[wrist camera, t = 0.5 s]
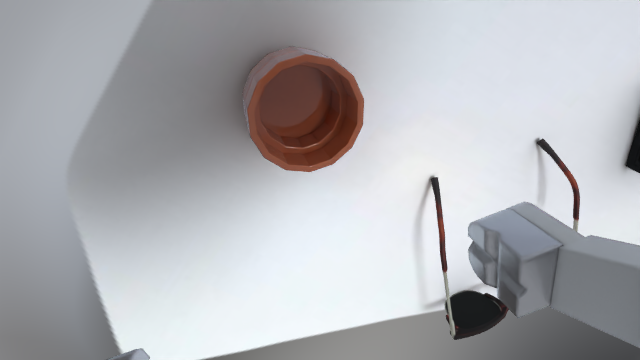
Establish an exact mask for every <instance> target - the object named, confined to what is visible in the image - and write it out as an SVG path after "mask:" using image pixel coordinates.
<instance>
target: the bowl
mask: <svg viewBox="0 0 640 360" xmlns="http://www.w3.org/2000/svg"><path fill="white" fill-rule="evenodd" d="M242 96H243V105H244V113H245V119H246V122H247V126H248V130H249V134H250V137H251V139H252V140H253V142H254V143H255V145H256V146H257V148H258V149H259V151H260V152H261V154H262V155H263V157H264V158H265V159H267V160H269V161H271V162H272V163H274V164H276V165H278V166H279V167H281V168H283V169H285V170H291V171H304V172H312V171H315V170H317V169H320V168H323V167H326V166H329V165H332V164H334V163H335V162H336V161H337V160H338V159H340V158H341V157H342V156H343V155H344V154H345V153H346V152H347V151H349V150H350V149H351V148H352V146H353V144H354V142H355V140H356V138H357V136H358V134H359V132H360V130H361V128H362V126H363V111H364V98H363V96H362V94H361V91H360V89H359V87H358V84H357V82H356V80H355V77H354V76H353V75H352V74H351V73H350V72H349V71H347V70H346V69H345V68H344V67H342V66H341V65H340V64H339V63H337V62H336V61H335V60H334V59H332V58H329V57H327V56H325V55H323V54H321V53H319V52H316V51H314V50H309V49H304V48H299V47H294V46H293V47H288V48H284V49H281V50H278V51H274V52H271V53H269V54H267V55H266V56H265V57H264V58H263V59H262V60H261V61H260V62H259V63H258V64H257V65H256V66H255V67H254V68H253V69H252V70H251V71H250V73H249V76H248V79H247V82H246V85H245V87H244V90H243V94H242Z"/></svg>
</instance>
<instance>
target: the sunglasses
mask: <svg viewBox="0 0 640 360" xmlns="http://www.w3.org/2000/svg"><path fill="white" fill-rule="evenodd" d="M537 144H538V145H539V146H540V147H541V148H542V149H543V150H544V151H546V152H547V153H548V154H549V155H550V156H551V157H552V158H553V160H554V161H555V162H556V163H557V165H558V166H559V167H560V169H561V170H562V171H563V172H564V174H565V175H566V177H567V178H568V180H569V181H570V183H571V186H572V189H573V194H574V208H573V218H574V225H573V230H574V231H576V232H577V230H578V220H579V206H580V195H579V189H578V185H577V182H576V180H575V179H574V177H573V175H572V174H571V172H570V171H569V170H568V168H567V167H566V166H565V164H564V163H563V162H562V161H561V159H560V158H559V157H558V156H557V154H556V153H555V152H554V150H553V149H552V148H551V147H550V145H549V144H548V143H547V142H546V141H545V140H544V139H542V140H540V141H539V142H537ZM431 182H432V187H433V191H434V195H435V201H436V210H437V219H438V228H439V238H440V255H441V263H442V270H443V275H444V282H445V289H446V297H447V300H446V301H445V310H446V312H447V315H446V319H447V321H448V323H449V325H450V329H451V331H450V334H451V336H452V338H453V339H454V340H457V339H462V338H466V337H470V336H474V335H476V334H480V333H482V332H484V331H487V330H488V329H490V328H492V327H493V326H495V325H496V324H497V323H499V322H500V321H501V320H502V319H503V318H504V317H505V316H506V313H507V311H508V310H509V309H508V308H507V306H506V305H505V304H504V303H503V302H502V301H501V300H499V299H497V298H496V297H494V296H492V295H490V294H488V293H485V294H482V293H480V292H477V291H473V290H465V291H461V292H458V293H456V294H454V295H452V296H451V297H449V289H448V280H447V273H446V271H447V261H446V251H445V232H444V224H443V215H442V206H441V198H440V189H439V182H438V178H437V177H434V178H432V179H431Z"/></svg>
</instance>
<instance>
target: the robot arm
mask: <svg viewBox="0 0 640 360" xmlns="http://www.w3.org/2000/svg"><path fill="white" fill-rule="evenodd" d="M468 236H469V237H470V238H471V239H472V240H473V242H472V244H471V245H470V247H469V249H468V251H469V260H470V263H471V265H472V268H473V270H474V271H475V273H476V274H477V276H478V277H479V278H480V279H481V280H482V282H483V283H484V284H486V285H489V286H492V287H495V288H497V297H498V298H499V299H500V300H501V301H502V302H503V303H504V304H505V305H506V306H507V308H508V309H509V310H510V311H511V312H512V313H513V314H514V315H515V316H516V317H517V318H519V317H522V316H525V315H527V314H530V313H532V312H535V311H537V310H540V309H543V308H545V307H548V306H550V305H551V308H553V309H555V310H557V311H559V312H562V313H564V314H566V315H568V316H571V317H573V318H575V319H577V320H579V321H581V322H584V323H586V324H588V325H590V326H593V327H595V328H597V329H599V330H602V331H604V332H606V333H608V334H610V335H612V336H615V337H617V338H619V339H621V340H624V341H626V342H628V343H630V344H632V345H635V346H637V347H639V348H640V246H639V245H634V244H630V243H625V242H620V241H616V240H611V239H607V238H602V237H597V236H593V235H590V236H587V237H584V236H582V235H581V234H579V233H578V232H576V231H574V230H573V229H571V228H570V227H568V226H567V225H565V224H563V223H562V222H560V221H559V220H557V219H555V218H554V217H552V216H551V215H549V214H547V213H546V212H544V211H543V210H541V209H539V208H538V207H536V206H535V205H533V204H531V203H528V202H522V203H520V204H517V205H515V206H512V207H510V208H507V209H506V210H502V211H499V212H497V213H494V214H492V215H489V216H486V217H484V218H481V219H479V220H476V221H474V222H471V223H470V225H469V227H468ZM149 359H150V357H149V355H148V354H147V353H146V352H145V351H144V350H143V349H135V350H132V351H129V352H127V353H124V354H121V355H118V356H115V357H112V358H109V359H107V360H149Z"/></svg>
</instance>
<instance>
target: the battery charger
mask: <svg viewBox="0 0 640 360" xmlns="http://www.w3.org/2000/svg"><path fill="white" fill-rule="evenodd" d="M626 166H627V167H628V168H630V169H632V170H634V171H636V172H638V173H640V121H639V124H638V127H637V131H636V134H635V137H634V141H633V144H632V147H631V150H630V154H629V157H628V160H627V164H626Z"/></svg>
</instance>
